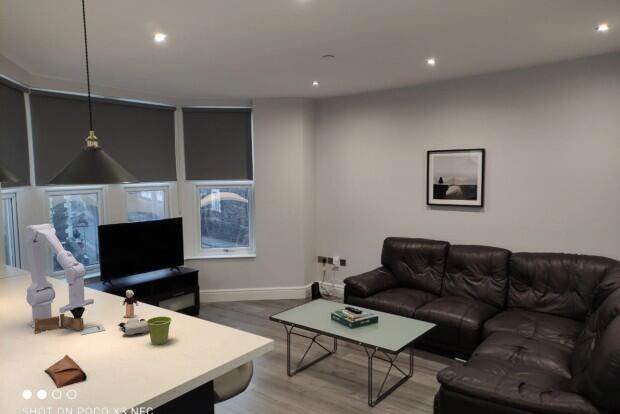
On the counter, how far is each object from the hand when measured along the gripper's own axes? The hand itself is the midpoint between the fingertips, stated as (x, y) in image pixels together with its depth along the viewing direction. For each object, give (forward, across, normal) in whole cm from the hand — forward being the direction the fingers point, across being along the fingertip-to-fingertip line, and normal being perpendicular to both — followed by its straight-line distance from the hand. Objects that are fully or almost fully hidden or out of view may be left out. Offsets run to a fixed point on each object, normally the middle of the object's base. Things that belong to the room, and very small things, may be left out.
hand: (77, 324), depth 182 cm
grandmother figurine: (+2, +21, -8) cm, 22 cm away
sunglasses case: (+3, -30, -34) cm, 46 cm away
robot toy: (+2, +9, -24) cm, 25 cm away
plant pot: (+2, +4, -42) cm, 42 cm away
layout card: (+2, +2, -6) cm, 6 cm away
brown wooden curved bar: (+1, -1, +2) cm, 3 cm away
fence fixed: (+2, -5, +10) cm, 12 cm away
